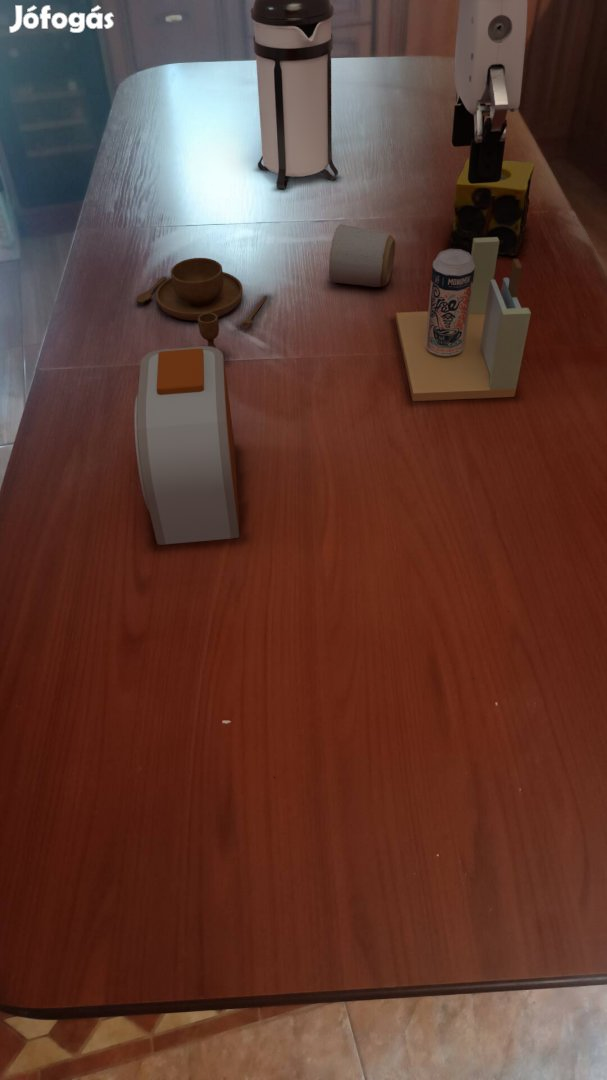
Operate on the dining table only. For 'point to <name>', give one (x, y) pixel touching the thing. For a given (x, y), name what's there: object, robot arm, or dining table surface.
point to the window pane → (512, 286)
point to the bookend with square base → (469, 342)
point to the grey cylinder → (361, 256)
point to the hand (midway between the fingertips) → (474, 162)
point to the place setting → (199, 295)
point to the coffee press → (294, 86)
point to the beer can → (449, 302)
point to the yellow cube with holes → (492, 208)
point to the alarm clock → (186, 445)
